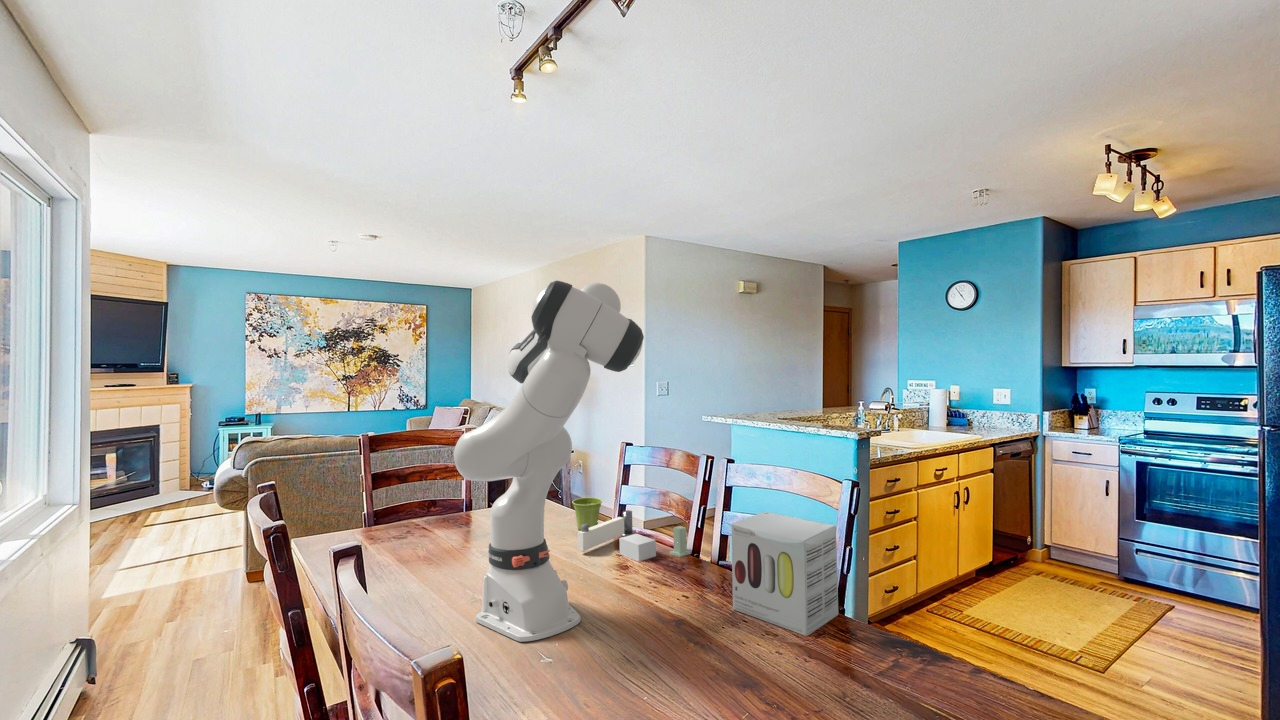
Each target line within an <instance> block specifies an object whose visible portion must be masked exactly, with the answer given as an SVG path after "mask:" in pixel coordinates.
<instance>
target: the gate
mask: <svg viewBox="0 0 1280 720" xmlns="http://www.w3.org/2000/svg"><path fill="white" fill-rule="evenodd" d="M576 533H577V536H576V537H577V551H581V552H585V551H587V550H590V549H592V548H595V547H597V546H599V545H602V544H604V543H606V542H609V541H611V540H614V539H616V538H620V537H622V536H621V535H624V518H623V516H622V517H621V516H617V517H615V518H612V519H610V520H606V521H604V522H601V523H598V525H595V526H593V527H590V528H589V525H588V524H582V525H581V530H579V531H577V532H576Z"/></svg>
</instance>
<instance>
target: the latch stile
mask: <svg viewBox="0 0 1280 720" xmlns="http://www.w3.org/2000/svg"><path fill="white" fill-rule="evenodd" d="M672 529H673V550H669V554H670V555H672V556H675V557H677V558H678V557H679V558H683V557H686V556H688V555H692V551H690V550H687V527H685V526H681V525H678V526H674V527H673V528H672ZM677 542H678V543H677Z"/></svg>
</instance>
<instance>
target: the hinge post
mask: <svg viewBox="0 0 1280 720" xmlns="http://www.w3.org/2000/svg"><path fill="white" fill-rule="evenodd" d="M622 518H624V535H621V536H620V537H621V538H622V537H626V536H630V535H633V534H636V532H635V531H633V511H632V510H628V509H627V510H623V511H622Z"/></svg>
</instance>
